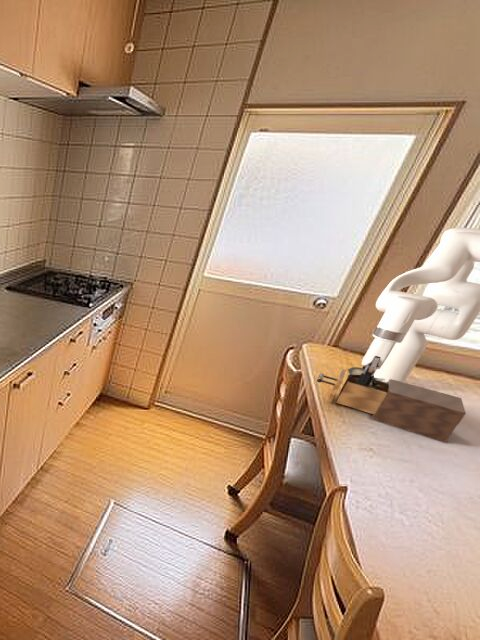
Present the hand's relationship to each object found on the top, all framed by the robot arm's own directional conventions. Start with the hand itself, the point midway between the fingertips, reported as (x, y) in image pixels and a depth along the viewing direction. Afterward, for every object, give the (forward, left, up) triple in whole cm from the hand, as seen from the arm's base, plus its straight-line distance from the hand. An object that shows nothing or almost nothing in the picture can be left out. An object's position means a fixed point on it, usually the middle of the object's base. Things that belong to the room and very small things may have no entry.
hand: (362, 381), depth 147 cm
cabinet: (0, +15, -9) cm, 18 cm away
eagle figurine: (+2, 0, -1) cm, 2 cm away
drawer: (0, -1, -9) cm, 9 cm away
